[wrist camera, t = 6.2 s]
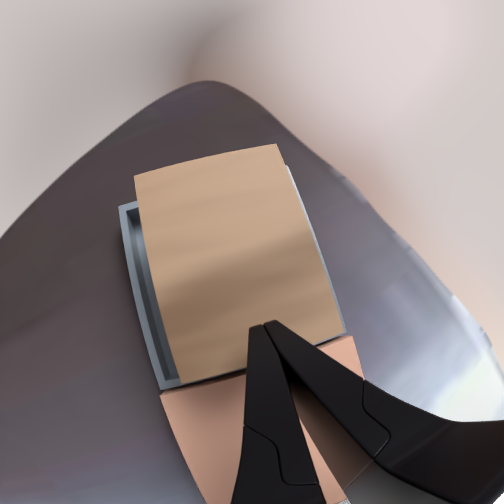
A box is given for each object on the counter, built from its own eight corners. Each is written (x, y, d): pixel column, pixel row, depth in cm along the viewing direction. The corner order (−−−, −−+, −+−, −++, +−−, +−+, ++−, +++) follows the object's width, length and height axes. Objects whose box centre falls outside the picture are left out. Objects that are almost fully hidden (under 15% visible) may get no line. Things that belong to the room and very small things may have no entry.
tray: (333, 332, 16) (347, 332, 14) (167, 382, 14) (160, 390, 12) (281, 181, 18) (287, 165, 16) (128, 219, 17) (118, 206, 15)
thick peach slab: (368, 465, 14) (385, 478, 11) (224, 515, 12) (226, 536, 10) (334, 335, 16) (352, 335, 14) (168, 386, 14) (159, 395, 12)
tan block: (344, 331, 10) (275, 143, 12) (181, 384, 9) (133, 176, 10) (300, 331, 16) (258, 202, 17) (196, 363, 14) (160, 226, 16)
